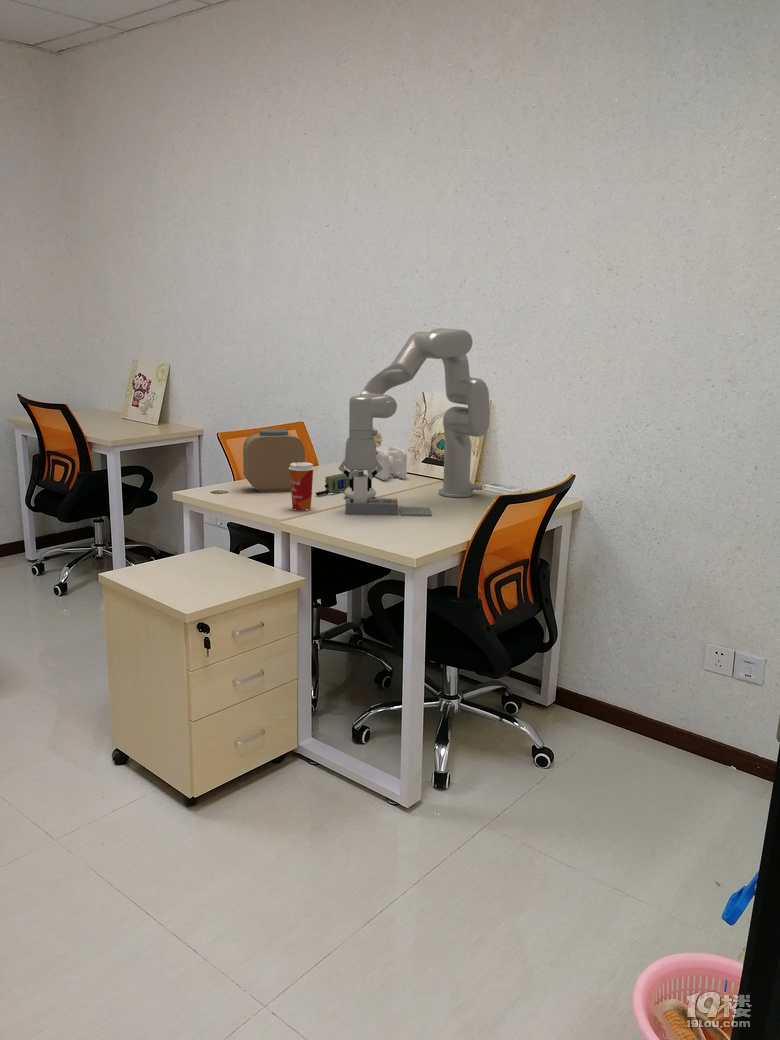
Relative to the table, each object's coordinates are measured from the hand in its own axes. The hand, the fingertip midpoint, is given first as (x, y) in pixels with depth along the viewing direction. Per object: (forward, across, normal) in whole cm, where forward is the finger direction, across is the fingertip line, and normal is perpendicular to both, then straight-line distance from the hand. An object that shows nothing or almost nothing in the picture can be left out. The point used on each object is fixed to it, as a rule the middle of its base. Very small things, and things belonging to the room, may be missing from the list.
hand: (360, 489), depth 271 cm
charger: (+4, 0, 0) cm, 4 cm away
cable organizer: (+8, -11, -57) cm, 58 cm away
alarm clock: (+7, +31, -31) cm, 44 cm away
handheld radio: (+8, +7, -30) cm, 32 cm away
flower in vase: (+8, -1, -20) cm, 21 cm away
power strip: (+7, -4, 0) cm, 8 cm away
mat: (+7, -18, 0) cm, 20 cm away
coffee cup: (+7, +19, -2) cm, 21 cm away
